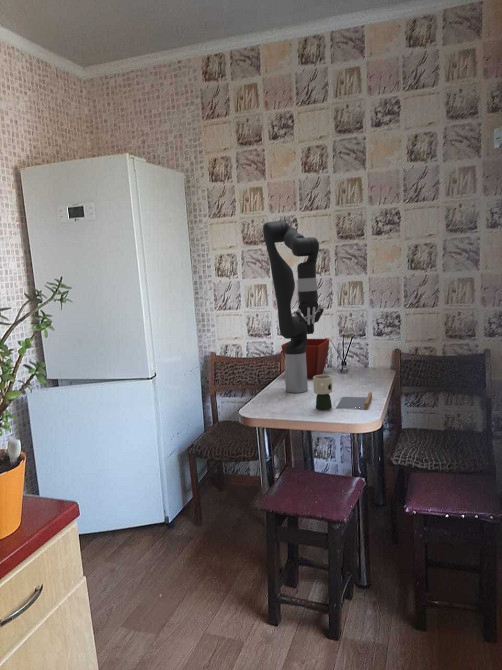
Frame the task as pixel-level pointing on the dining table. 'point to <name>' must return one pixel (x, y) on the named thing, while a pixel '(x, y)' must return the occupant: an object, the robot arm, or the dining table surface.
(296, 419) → the dining table surface
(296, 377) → the robot arm
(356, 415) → the dining table surface
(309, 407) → the dining table surface
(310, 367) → the plant pot
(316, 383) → the character mug
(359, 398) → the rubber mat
